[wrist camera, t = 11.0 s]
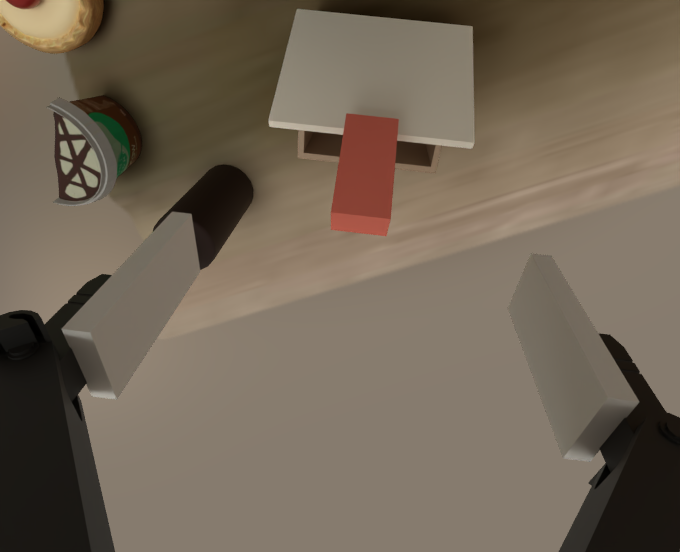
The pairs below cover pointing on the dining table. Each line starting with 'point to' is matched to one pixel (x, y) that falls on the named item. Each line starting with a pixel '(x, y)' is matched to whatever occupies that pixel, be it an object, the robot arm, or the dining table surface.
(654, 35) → the dining table surface
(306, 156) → the carton
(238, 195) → the bottle
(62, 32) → the pastry
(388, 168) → the lid
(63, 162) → the food container
